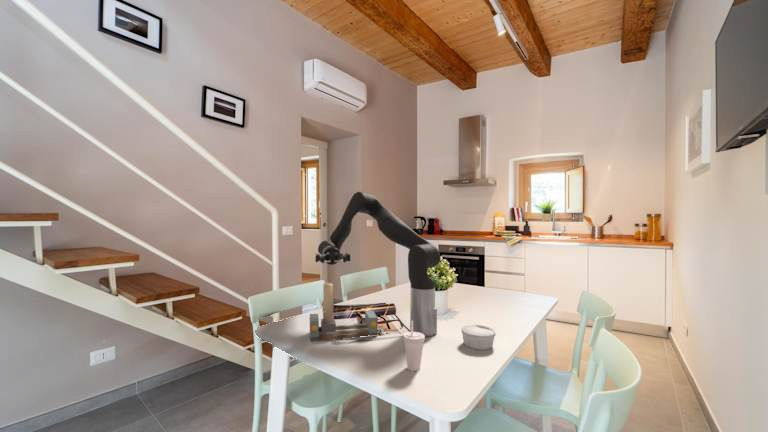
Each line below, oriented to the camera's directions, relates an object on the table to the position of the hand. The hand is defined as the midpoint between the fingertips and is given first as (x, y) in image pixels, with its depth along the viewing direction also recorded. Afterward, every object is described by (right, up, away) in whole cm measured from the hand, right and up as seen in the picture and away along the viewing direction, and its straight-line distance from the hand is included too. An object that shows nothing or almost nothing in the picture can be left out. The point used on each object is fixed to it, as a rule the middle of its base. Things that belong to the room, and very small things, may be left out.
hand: (334, 260), depth 137 cm
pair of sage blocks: (+5, -26, -10) cm, 28 cm away
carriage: (-1, -23, -11) cm, 26 cm away
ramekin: (+52, -27, -18) cm, 62 cm away
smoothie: (+29, -27, -36) cm, 53 cm away
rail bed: (+5, -26, -10) cm, 28 cm away
